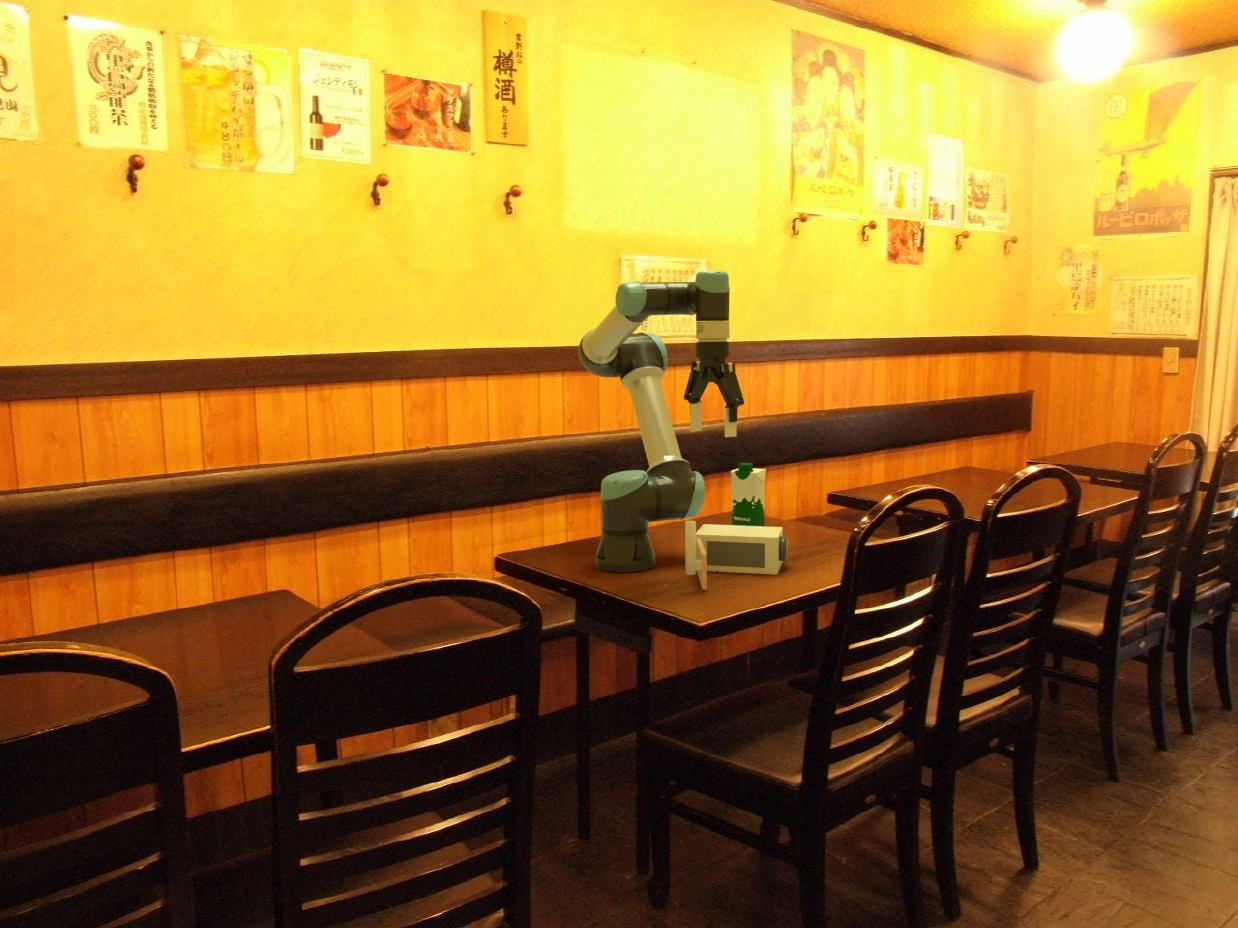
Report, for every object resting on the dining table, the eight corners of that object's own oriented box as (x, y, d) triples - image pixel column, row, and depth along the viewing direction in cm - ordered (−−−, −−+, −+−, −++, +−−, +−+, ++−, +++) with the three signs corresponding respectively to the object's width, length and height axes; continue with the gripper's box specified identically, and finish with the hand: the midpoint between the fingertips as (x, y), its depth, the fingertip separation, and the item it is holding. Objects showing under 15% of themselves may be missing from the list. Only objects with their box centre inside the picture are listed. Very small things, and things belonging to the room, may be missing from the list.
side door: (680, 569, 239) (680, 506, 236) (700, 568, 239) (700, 506, 236) (686, 590, 221) (685, 522, 218) (707, 589, 221) (707, 522, 218)
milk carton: (727, 533, 280) (727, 463, 277) (741, 527, 287) (741, 459, 284) (756, 536, 275) (756, 465, 272) (769, 530, 282) (769, 461, 279)
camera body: (694, 570, 239) (694, 534, 238) (703, 558, 251) (703, 524, 250) (784, 574, 234) (784, 538, 232) (788, 562, 245) (789, 527, 244)
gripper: (668, 340, 230) (669, 430, 233) (732, 341, 209) (732, 440, 212) (695, 339, 234) (695, 427, 237) (760, 340, 213) (759, 437, 216)
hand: (712, 434), depth 225 cm, fingers open, 13 cm apart
